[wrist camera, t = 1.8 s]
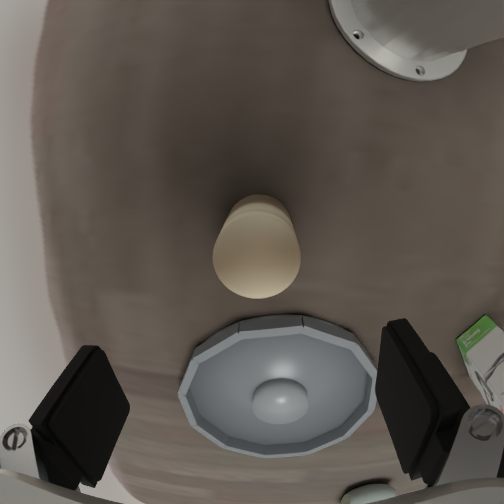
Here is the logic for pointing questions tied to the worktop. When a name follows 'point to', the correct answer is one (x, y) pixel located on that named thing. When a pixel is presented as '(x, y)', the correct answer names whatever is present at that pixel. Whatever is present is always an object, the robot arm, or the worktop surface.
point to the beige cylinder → (257, 248)
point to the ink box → (485, 359)
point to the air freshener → (368, 494)
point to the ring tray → (279, 386)
